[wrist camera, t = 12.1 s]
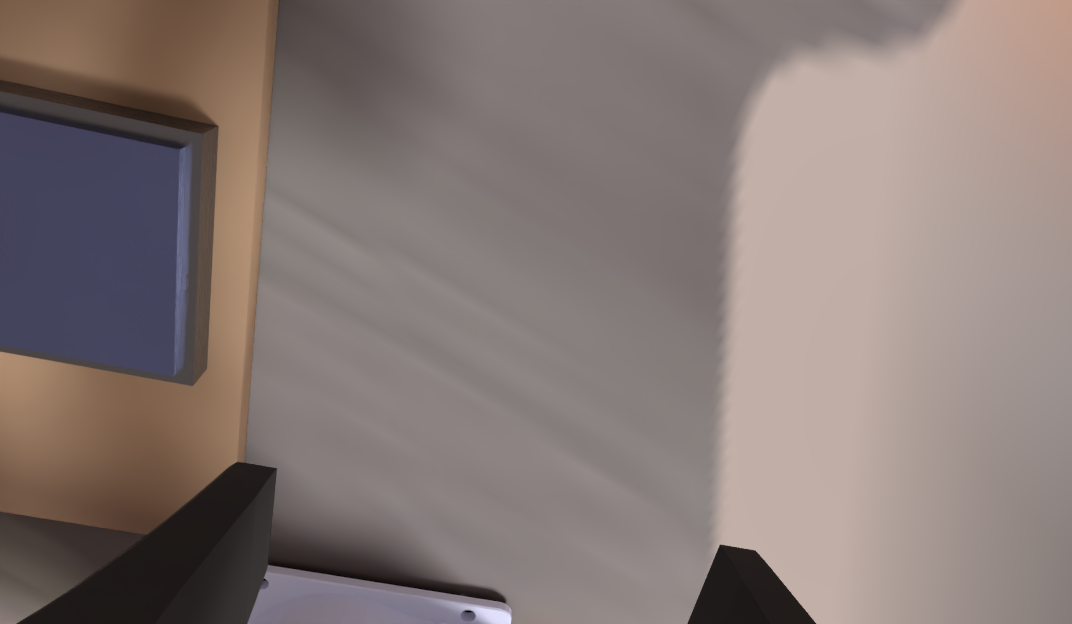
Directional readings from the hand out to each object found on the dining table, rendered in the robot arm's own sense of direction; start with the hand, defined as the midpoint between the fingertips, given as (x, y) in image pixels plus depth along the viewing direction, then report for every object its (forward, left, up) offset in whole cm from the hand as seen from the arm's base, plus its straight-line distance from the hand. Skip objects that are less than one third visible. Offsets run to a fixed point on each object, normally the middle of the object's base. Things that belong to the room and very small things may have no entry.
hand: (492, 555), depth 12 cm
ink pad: (+11, 0, -10) cm, 15 cm away
